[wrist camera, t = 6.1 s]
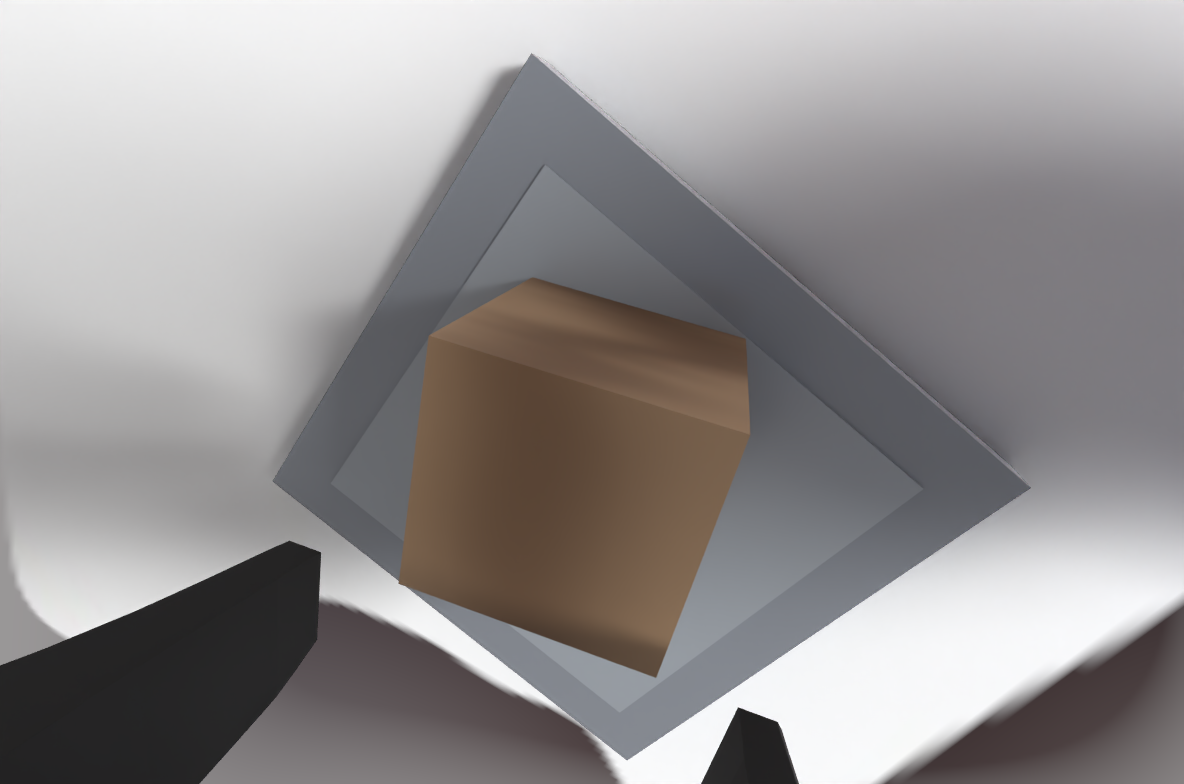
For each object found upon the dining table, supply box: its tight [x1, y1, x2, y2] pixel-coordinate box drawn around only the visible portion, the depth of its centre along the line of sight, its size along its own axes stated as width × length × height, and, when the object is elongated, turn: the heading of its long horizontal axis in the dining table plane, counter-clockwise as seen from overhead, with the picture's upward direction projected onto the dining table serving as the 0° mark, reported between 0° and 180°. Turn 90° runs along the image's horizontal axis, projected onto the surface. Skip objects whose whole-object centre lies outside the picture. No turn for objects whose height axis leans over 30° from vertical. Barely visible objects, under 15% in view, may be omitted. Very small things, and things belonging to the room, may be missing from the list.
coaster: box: [273, 53, 1031, 760], centre depth 16 cm, size 14×14×1 cm
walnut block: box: [399, 277, 750, 678], centre depth 12 cm, size 5×5×5 cm
